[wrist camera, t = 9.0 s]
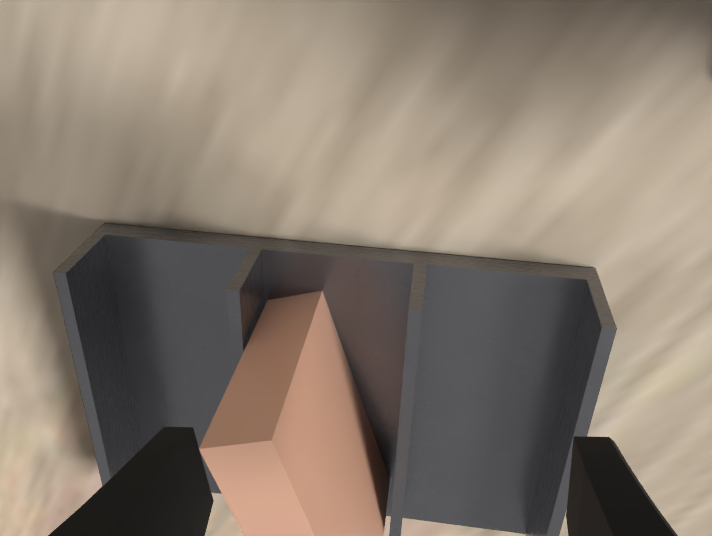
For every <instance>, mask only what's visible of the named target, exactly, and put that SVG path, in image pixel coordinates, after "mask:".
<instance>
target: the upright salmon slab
mask: <svg viewBox="0 0 712 536" xmlns="http://www.w3.org/2000/svg"><path fill="white" fill-rule="evenodd" d="M199 450H200V452H201V454H202V456H203V458H204V460H205V462H206V464H207V466H208V468H209V470H210V472H211V474H212V475H213V477H214V479H215V481H216V483H217V485H218V487H219V489H220V491H221V493H222V495H223V497H224V498H225V500H226V502H227V504H228V506H229V508H230V510H231V512H232V514H233V516H234V518H235V519H236V521H237V523H238V525H239V527H240V529H241V531H242V533H243V535H244V536H383V535H384V526H385V518H386V509H387V501H388V492H389V484H390V479H389V476H388V474H387V471H386V468H385V465H384V462H383V459H382V457H381V454H380V451H379V448H378V445H377V443H376V440H375V437H374V434H373V431H372V429H371V426H370V423H369V420H368V417H367V414H366V412H365V409H364V406H363V403H362V400H361V398H360V395H359V392H358V389H357V386H356V384H355V381H354V378H353V375H352V372H351V370H350V367H349V364H348V361H347V358H346V355H345V353H344V350H343V347H342V344H341V341H340V339H339V336H338V333H337V330H336V327H335V325H334V322H333V319H332V316H331V313H330V310H329V308H328V305H327V302H326V299H325V296H324V294H323V291H317V292H311V293H305V294H300V295H294V296H288V297H283V298H277V299H272V300H267V303H266V305H265V307H264V309H263V311H262V313H261V316H260V318H259V320H258V322H257V324H256V326H255V329H254V331H253V333H252V335H251V337H250V339H249V341H248V344H247V346H246V348H245V350H244V352H243V354H242V357H241V359H240V361H239V363H238V365H237V367H236V370H235V372H234V374H233V376H232V378H231V380H230V383H229V385H228V387H227V389H226V391H225V393H224V396H223V398H222V400H221V402H220V404H219V406H218V409H217V411H216V413H215V415H214V417H213V419H212V422H211V424H210V426H209V428H208V430H207V432H206V435H205V437H204V439H203V441H202V443H201V445H200V447H199Z"/></svg>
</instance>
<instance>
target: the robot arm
mask: <svg viewBox="0 0 712 536" xmlns="http://www.w3.org/2000/svg"><path fill="white" fill-rule="evenodd" d="M212 504H213V497H212V494H211V490H210V486H209V483H208V479H207V476H206V472H205V468H204V465H203V461H202V457H201V454H200V450H199V446H198V443H197V439H196V435H195V432H194V428H193V427H163V428H162V429H161V430H160V431H159V432H158V433H157V434H156V435H155V436H154V437H153V438H152V439H151V440H150V441H149V442H148V443H147V444H146V445H145V446H144V447H143V448H142V449H141V450H139V451H138V452H137V453H136V454H135V455H134V456H133V457H132V458H131V459H130V460H129V461H128V462H127V463H126V464H125V465H124V466H123V467H122V468H121V469H120V470H119V471H118V472H117V473H116V474H115V475H114V476H113V477H112V478H111V479H110V480H109V481H108V482H107V483H106V484H105V485H104V486H102V487H101V488H100V489H99V490H98V491H97V492H96V493H95V494H94V495H93V496H92V497H91V498H90V499H89V500H88V501H87V502H86V503H85V504H83V505H82V506H81V507H80V508H79V509H78V510H77V511H76V512H75V513H73V514H72V515H71V516H70V517H69V518H68V519H67V520H66V521H64V522H63V523H62V524H61V525H60V526H59V527H58V528H56V529H55V530H54V531H53V532H52V533H51V534H50V535H48V536H204V535H205V532H206V528H207V524H208V520H209V516H210V512H211V508H212ZM566 518H567V526H568V534H569V536H677V534H676V533H675V532H674V530H673V529H672V528H671V526H670V525H669V524H668V522H667V521H666V519H665V518H664V517H663V515H662V514H661V513H660V511H659V510H658V508H657V507H656V506H655V504H654V503H653V501H652V500H651V499H650V497H649V496H648V494H647V493H646V491H645V490H644V488H643V487H642V485H641V484H640V482H639V481H638V479H637V478H636V476H635V475H634V473H633V472H632V470H631V468H630V467H629V465H628V464H627V462H626V460H625V459H624V457H623V455H622V454H621V452H620V450H619V449H618V447H617V445H616V444H615V442H614V441H613V440H612V439H611V438H609V437H580V436H574V437H573V448H572V459H571V469H570V480H569V491H568V501H567V512H566Z"/></svg>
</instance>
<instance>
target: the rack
mask: <svg viewBox="0 0 712 536" xmlns="http://www.w3.org/2000/svg"><path fill="white" fill-rule="evenodd" d="M53 274H54V278H55V282H56V287H57V291H58V295H59V300H60V304H61V308H62V313H63V317H64V321H65V326H66V330H67V334H68V338H69V343H70V347H71V351H72V356H73V360H74V364H75V369H76V373H77V377H78V382H79V386H80V390H81V395H82V399H83V403H84V408H85V412H86V416H87V421H88V425H89V429H90V434H91V438H92V442H93V447H94V451H95V455H96V460H97V464H98V468H99V473H100V477H101V481H102V486H104V485H105V484H106V483H107V482H108V481H109V480H110V479H111V478H112V477H113V476H114V475H115V474H116V473H117V472H118V471H119V470H120V469H121V468H122V467H123V466H124V465H125V464H126V463H127V462H128V461H129V460H130V459H131V458H132V457H133V456H134V455H135V454H136V453H137V452H138V451H139V450H141V449H142V448H143V447H144V446H145V445H146V444H147V443H148V442H149V441H150V440H151V439H152V438H153V437H154V436H155V435H156V434H157V433H158V432H159V431H160V430H161V429H162V428H163V427H193V428H194V432H195V435H196V439H197V443H198V446H199V447H200V445H201V443H202V441H203V439H204V437H205V435H206V432H207V430H208V428H209V426H210V424H211V422H212V419H213V417H214V415H215V413H216V411H217V409H218V406H219V404H220V402H221V400H222V398H223V396H224V393H225V391H226V389H227V387H228V385H229V383H230V380H231V378H232V376H233V374H234V372H235V370H236V367H237V365H238V363H239V361H240V359H241V357H242V354H243V352H244V350H245V348H246V346H247V344H248V341H249V339H250V337H251V335H252V333H253V331H254V329H255V326H256V324H257V322H258V320H259V318H260V316H261V313H262V311H263V309H264V307H265V305H266V303H267V300H272V299H277V298H283V297H288V296H294V295H300V294H305V293H311V292H317V291H323V294H324V296H325V299H326V302H327V305H328V308H329V310H330V313H331V316H332V319H333V322H334V325H335V327H336V330H337V333H338V336H339V339H340V341H341V344H342V347H343V350H344V353H345V355H346V358H347V361H348V364H349V367H350V370H351V372H352V375H353V378H354V381H355V384H356V386H357V389H358V392H359V395H360V398H361V400H362V403H363V406H364V409H365V412H366V414H367V417H368V420H369V423H370V426H371V429H372V431H373V434H374V437H375V440H376V443H377V445H378V448H379V451H380V454H381V457H382V459H383V462H384V465H385V468H386V471H387V474H388V476H389V479H390V484H389V492H388V501H387V509H386V516H391V522H390V534H389V536H401V526H402V518H409V519H416V520H424V521H432V522H439V523H447V524H454V525H462V526H469V527H477V528H484V529H492V530H500V531H507V532H515V533H522V534H526V536H559V534H560V530H561V527H562V523H563V520H564V516H565V513H566V509H567V501H568V491H569V480H570V469H571V459H572V448H573V437H574V436H580V437H587V434H588V430H589V427H590V423H591V419H592V416H593V412H594V409H595V405H596V402H597V398H598V394H599V391H600V387H601V384H602V380H603V376H604V373H605V369H606V366H607V362H608V359H609V355H610V351H611V348H612V344H613V341H614V337H615V334H616V330H617V328H616V325H615V322H614V319H613V317H612V314H611V311H610V308H609V305H608V302H607V299H606V297H605V294H604V291H603V288H602V285H601V282H600V280H599V277H598V274H597V271H596V268H588V267H577V266H566V265H555V264H544V263H534V262H523V261H512V260H501V259H490V258H479V257H468V256H457V255H446V254H435V253H424V252H413V251H402V250H392V249H381V248H370V247H359V246H348V245H337V244H326V243H315V242H304V241H293V240H282V239H271V238H261V237H250V236H239V235H228V234H217V233H206V232H195V231H184V230H173V229H162V228H151V227H140V226H129V225H119V224H108V223H104V224H103V225H102V226H101V227H100V228H99V229H98V230H97V231H96V232H95V233H94V234H93V235H92V236H91V237H90V238H89V239H88V240H87V241H85V242H84V243H83V244H82V245H81V246H80V247H79V248H78V249H77V250H76V251H75V252H74V253H73V254H72V255H71V256H70V257H69V258H68V259H67V260H66V261H65V262H63V263H62V264H61V265H60V266H59V267H58V268H57V269H56V270H55V271H54V272H53ZM200 454H201V452H200ZM201 457H202V461H203V465H204V468H205V472H206V476H207V479H208V483H209V486H210V490H211V492H212V493H220V494H222V493H221V491H220V489H219V487H218V485H217V483H216V481H215V479H214V477H213V475H212V474H211V472H210V470H209V468H208V466H207V464H206V462H205V460H204V458H203V456H202V454H201Z"/></svg>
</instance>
